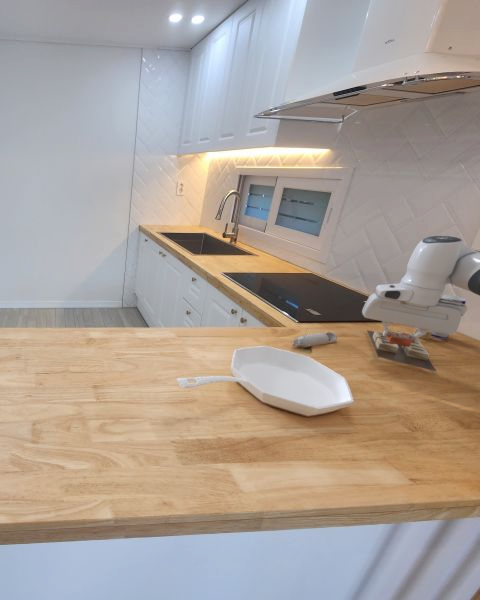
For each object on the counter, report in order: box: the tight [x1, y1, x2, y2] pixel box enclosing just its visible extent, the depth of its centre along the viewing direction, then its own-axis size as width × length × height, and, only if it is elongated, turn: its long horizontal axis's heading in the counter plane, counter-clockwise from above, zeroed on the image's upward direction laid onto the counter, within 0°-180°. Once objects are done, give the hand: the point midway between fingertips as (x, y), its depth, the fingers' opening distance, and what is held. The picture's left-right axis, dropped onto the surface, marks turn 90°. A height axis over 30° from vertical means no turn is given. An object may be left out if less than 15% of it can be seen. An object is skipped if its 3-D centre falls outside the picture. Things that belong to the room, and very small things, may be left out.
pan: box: [176, 345, 355, 418], centre depth 81 cm, size 25×44×6 cm, turn 107°
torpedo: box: [291, 327, 338, 348], centre depth 106 cm, size 18×5×7 cm, turn 110°
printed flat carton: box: [397, 331, 430, 361], centre depth 106 cm, size 4×16×2 cm, turn 148°
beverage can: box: [430, 294, 467, 340], centre depth 114 cm, size 6×6×15 cm
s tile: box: [386, 331, 412, 347], centre depth 99 cm, size 4×4×2 cm
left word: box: [373, 331, 399, 353], centre depth 107 cm, size 4×10×2 cm, turn 148°
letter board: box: [366, 329, 437, 372], centre depth 106 cm, size 13×22×1 cm, turn 148°
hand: (398, 338), depth 99 cm, fingers closed on s tile, 4 cm apart
